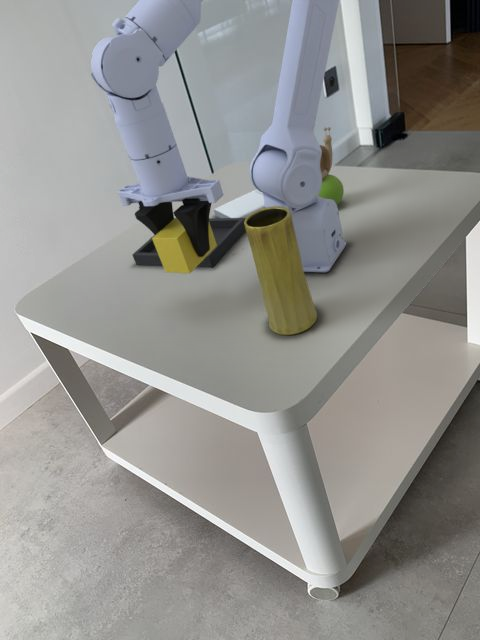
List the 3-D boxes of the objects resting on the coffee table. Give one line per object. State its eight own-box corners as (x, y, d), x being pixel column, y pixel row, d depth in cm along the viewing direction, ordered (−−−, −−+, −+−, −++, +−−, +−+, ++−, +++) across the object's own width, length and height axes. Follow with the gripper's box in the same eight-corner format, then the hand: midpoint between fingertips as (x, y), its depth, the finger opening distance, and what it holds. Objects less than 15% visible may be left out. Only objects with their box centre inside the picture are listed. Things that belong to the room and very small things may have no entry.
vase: (314, 334, 66) (289, 225, 57) (265, 337, 68) (234, 233, 59) (320, 304, 70) (297, 200, 62) (274, 309, 72) (246, 208, 64)
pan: (248, 228, 94) (245, 217, 93) (212, 267, 86) (208, 256, 85) (176, 228, 102) (172, 218, 100) (136, 265, 93) (131, 254, 92)
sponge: (217, 245, 74) (206, 211, 71) (190, 273, 70) (177, 238, 67) (193, 245, 76) (181, 212, 73) (165, 272, 72) (151, 238, 69)
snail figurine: (353, 197, 94) (342, 125, 86) (337, 214, 90) (324, 141, 83) (325, 196, 97) (312, 127, 89) (308, 213, 93) (293, 142, 86)
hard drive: (215, 216, 102) (270, 189, 105) (236, 227, 96) (294, 198, 99) (212, 208, 101) (269, 181, 104) (233, 219, 95) (292, 190, 98)
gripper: (86, 168, 65) (130, 267, 73) (184, 160, 58) (221, 270, 66) (122, 145, 70) (159, 240, 78) (217, 135, 63) (247, 241, 71)
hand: (189, 252), depth 72 cm, fingers closed on sponge, 4 cm apart
